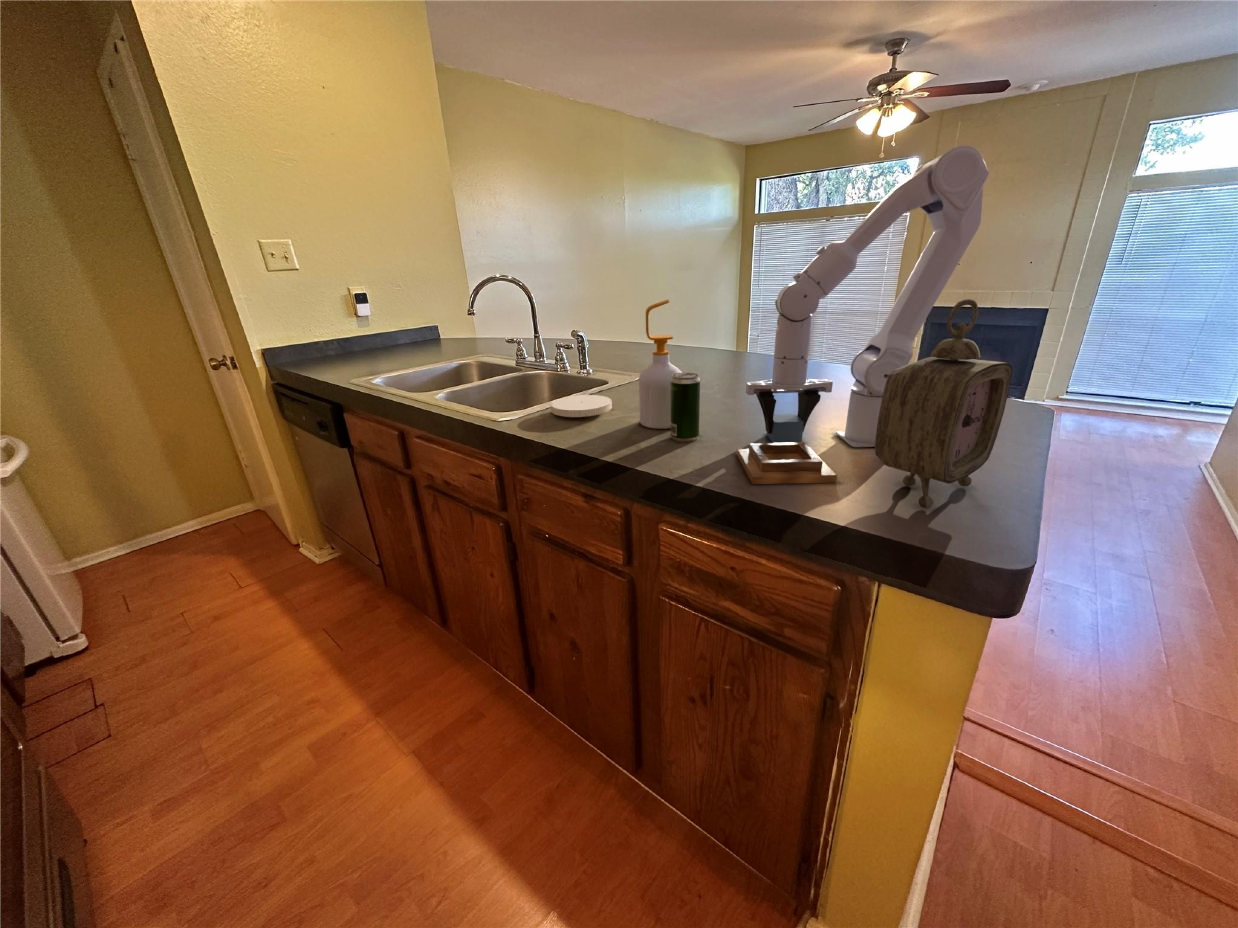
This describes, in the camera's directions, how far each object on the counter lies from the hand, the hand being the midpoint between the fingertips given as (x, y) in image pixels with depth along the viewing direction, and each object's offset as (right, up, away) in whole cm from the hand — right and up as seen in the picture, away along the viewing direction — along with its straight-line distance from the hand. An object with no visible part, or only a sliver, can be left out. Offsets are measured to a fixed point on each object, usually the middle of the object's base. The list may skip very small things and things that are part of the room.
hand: (784, 431), depth 87 cm
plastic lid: (-39, +6, +23) cm, 46 cm away
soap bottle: (-21, +2, +13) cm, 25 cm away
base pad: (-5, -7, -12) cm, 15 cm away
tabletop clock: (+12, -10, -22) cm, 26 cm away
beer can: (-18, -1, +3) cm, 18 cm away
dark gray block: (0, -1, +1) cm, 1 cm away
